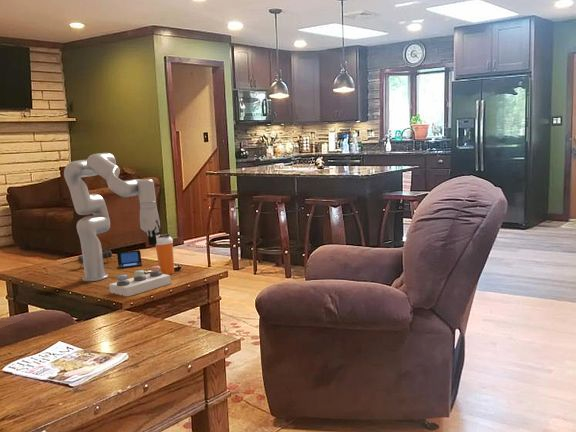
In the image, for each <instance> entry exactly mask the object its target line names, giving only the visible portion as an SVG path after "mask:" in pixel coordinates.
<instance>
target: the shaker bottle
mask: <svg viewBox="0 0 576 432" xmlns="http://www.w3.org/2000/svg"><path fill="white" fill-rule="evenodd" d="M156 241H157V244H155V245H154V246H155V251H156V255H157V256H156V257H157V262H158V266H160V270H159V271H161V272H162V274H166V275H170V276H171V275H173V274H174V273H175V260H174V247H173V243H174V242H173V241H174V239H173V238H172V237H171V233H165V234H161V233H159V234H157V235H156Z"/></svg>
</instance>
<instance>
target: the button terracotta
mask: <svg viewBox="0 0 576 432" xmlns="http://www.w3.org/2000/svg"><path fill="white" fill-rule="evenodd" d="M150 271H151V272H155V271H160V266H159V265H154V266H151V267H150Z"/></svg>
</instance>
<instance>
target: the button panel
mask: <svg viewBox="0 0 576 432" xmlns="http://www.w3.org/2000/svg"><path fill="white" fill-rule="evenodd" d="M170 284H172V279H171V274H170V275H166V274H162V272H161V271H160V270H159V271H151V272H148V273H144V275H141V276H133V277H130V278H128V279H127V280H122V281H119V280H118V281H116V282H112V283H109V284H108V285H109V287H108V288H109V293H110V294H113V293H115V294H114V295H118V294H119V295H118V296H122V295H123V297H126V296H127V297H131V296H134V295H138V294H142V293H144V292H148V291H150V290H155V289H157V288H161V287H165V286H168V285H170Z"/></svg>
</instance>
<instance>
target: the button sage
mask: <svg viewBox="0 0 576 432" xmlns="http://www.w3.org/2000/svg"><path fill="white" fill-rule="evenodd" d="M144 274H145V270H144V269H139V270H135V271H134V277H137V276H141V275H144Z"/></svg>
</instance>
